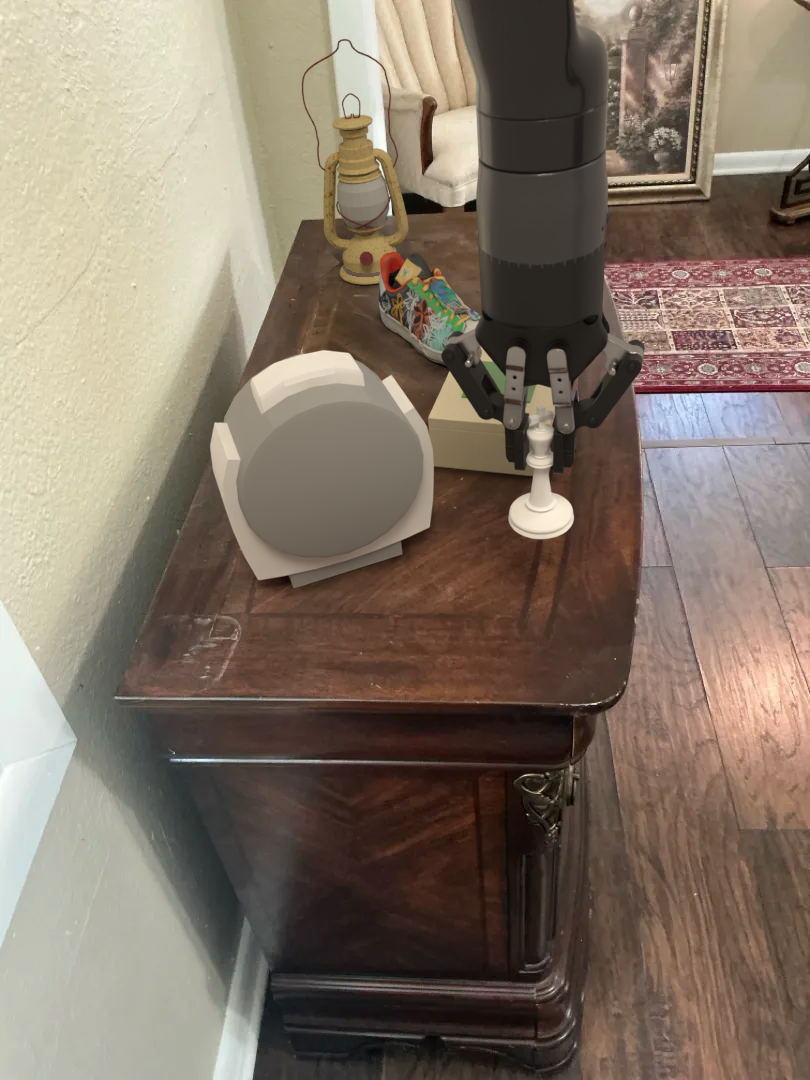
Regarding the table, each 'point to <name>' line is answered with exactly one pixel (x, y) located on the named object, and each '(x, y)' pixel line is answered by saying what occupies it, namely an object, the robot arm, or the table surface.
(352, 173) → the lantern
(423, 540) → the table surface
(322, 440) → the alarm clock
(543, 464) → the chess piece
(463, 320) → the sneaker
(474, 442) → the box with green top
